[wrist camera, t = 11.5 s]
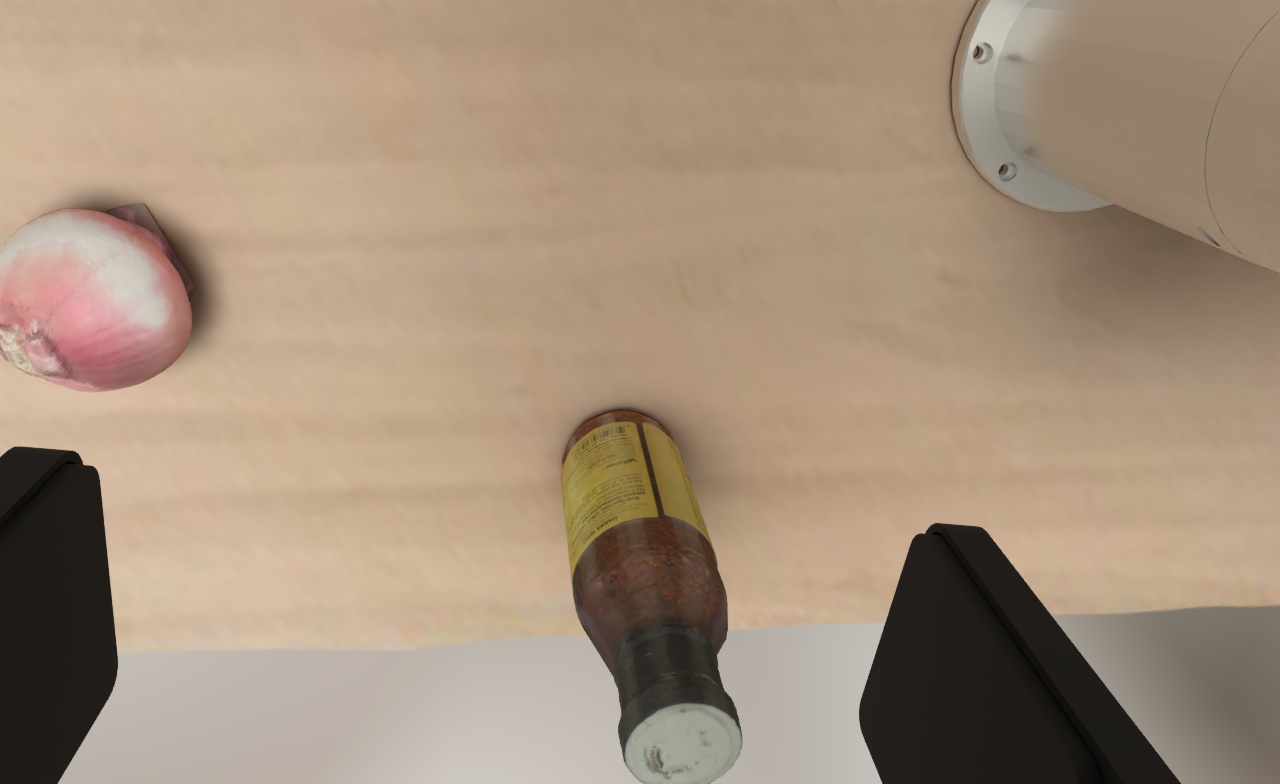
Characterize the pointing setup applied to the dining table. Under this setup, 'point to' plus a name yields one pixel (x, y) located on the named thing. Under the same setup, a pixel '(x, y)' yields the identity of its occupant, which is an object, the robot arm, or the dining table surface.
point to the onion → (93, 299)
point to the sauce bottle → (650, 597)
